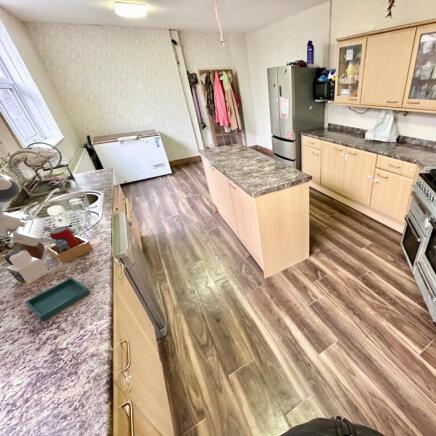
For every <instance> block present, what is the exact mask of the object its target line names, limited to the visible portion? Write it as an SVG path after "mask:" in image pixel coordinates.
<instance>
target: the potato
mask: <svg viewBox="0 0 436 436" xmlns="http://www.w3.org/2000/svg"><path fill="white" fill-rule="evenodd" d="M18 250H27V251H28V252H29V253H30V255H31V256H32V257H33V258H37V259H40V258H41V257H42V256H43V255H44V252H45V245H44V243H42V242H39V243H38V245H37V246H30V245H26V244H22V243H20V246H19V249H18Z"/></svg>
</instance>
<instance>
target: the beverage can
mask: <svg viewBox="0 0 436 436" xmlns="http://www.w3.org/2000/svg"><path fill="white" fill-rule="evenodd" d="M49 234H50V235H49V238H51V237H52V238H56V241H55V243H54V245H56V246H57V247H58V249H59V250H60V252H61V253H62V252H65V251H67V250H69V249H71V248H73V247H76V246H78V245H79V243H78V242H77V240H76V238H75V235H74V234H73V232H72V230H71V229H70V228H68V227H67V226H59V227H55V228H53V230H52V231H51V232H49Z"/></svg>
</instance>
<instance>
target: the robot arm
mask: <svg viewBox="0 0 436 436" xmlns="http://www.w3.org/2000/svg"><path fill="white" fill-rule="evenodd" d="M19 193H20V186H19V184H18V183H17V182H16V181H15V180H14V179H13V178H10V177H8V176H6V175H3V174H1V173H0V236H2V237H6V238H8V239H10V240H11V241H12V242H15V243H18V244H26V245H30V246H37V245H38V243H39V242H40V243H42V244H44V243H45V244H47V243H49V244H55V241H56V238H52V237H46V236H43V234H44V232H48V233H50V232H51V231H52V230H53V229H54V228H53V227H51V226H50V225H46V223H47V222H46V220H44V219H42V218H39V217H35V216H33V215H29V214H25V213H24V212H22V211H14V212H10V213H9V212H6V211H5V210H6V209H8V206H9V205H10V204H11V203H12V201H13V199H15V198H16V197H17V196H18V195H19Z"/></svg>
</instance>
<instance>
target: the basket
mask: <svg viewBox="0 0 436 436" xmlns="http://www.w3.org/2000/svg"><path fill="white" fill-rule="evenodd" d="M74 237H75V238H76V240H77V242H78V243H79V245H78V246H76V247H73V248H71V249H69V250H67V251H65V252H62V253H61V252H60V250H59V249H58V247H57V246H56V244H54V245H51V246H49V247H47V248H46V250H47V251H48V253H49V254H50V255H51V257H52V258H54V259H55V260H56V261H58V262H59V263H60V264H63V265H64V264H66V263H68V262H70V261H72V260H74V259H76V258H79V257H80V256H83V255H84V254H86V253H88V252H91V251H93V250H94V248H93V246H92V244H91V242H90V241H89V240H87V239H86V238H84V237H82V236H80V235H74Z"/></svg>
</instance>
